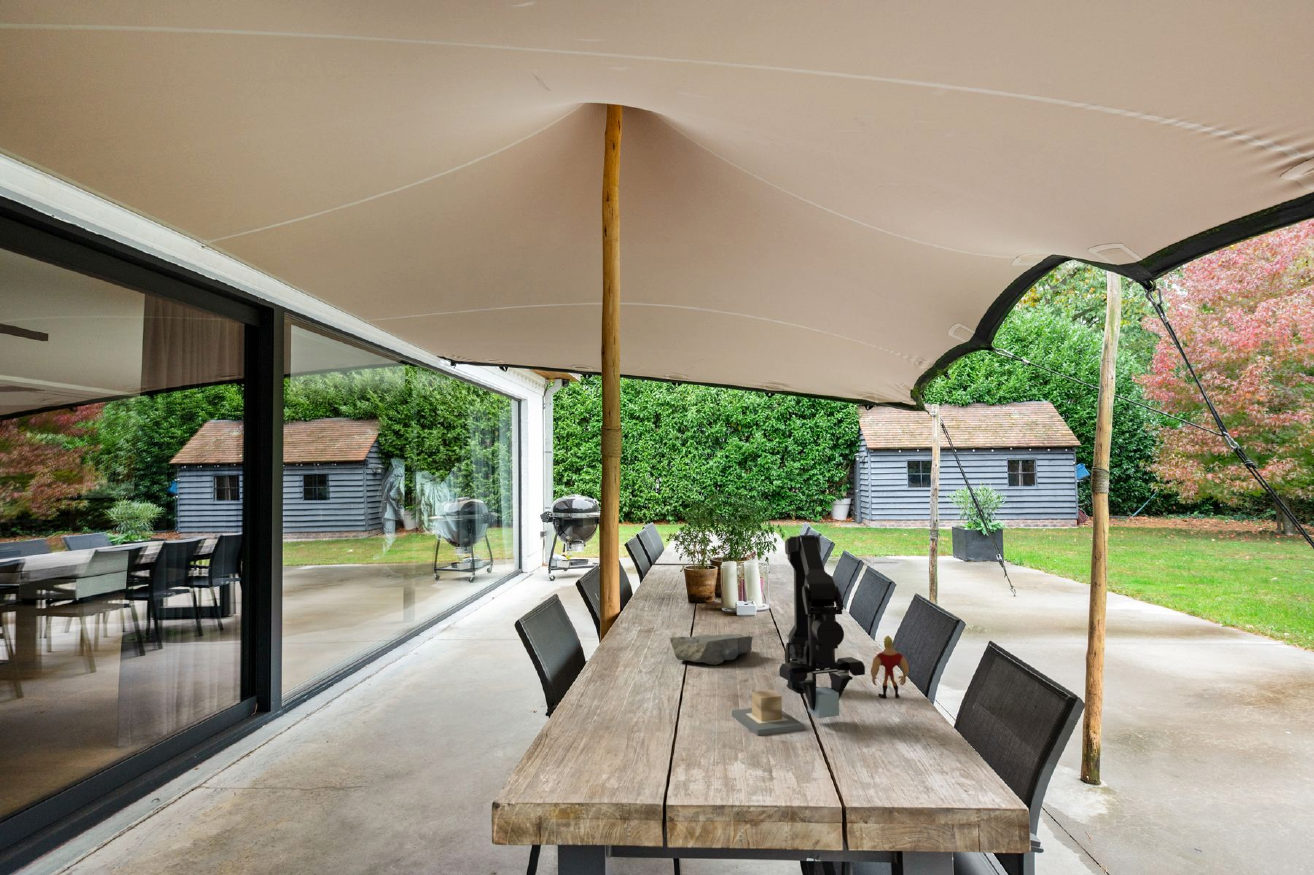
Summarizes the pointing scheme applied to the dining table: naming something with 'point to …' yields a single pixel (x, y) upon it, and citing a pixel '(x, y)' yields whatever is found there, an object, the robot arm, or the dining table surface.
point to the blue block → (825, 703)
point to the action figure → (889, 666)
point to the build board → (767, 723)
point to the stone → (711, 647)
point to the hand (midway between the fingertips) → (823, 708)
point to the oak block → (766, 705)
